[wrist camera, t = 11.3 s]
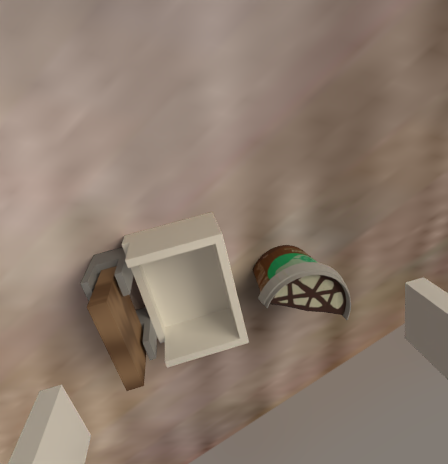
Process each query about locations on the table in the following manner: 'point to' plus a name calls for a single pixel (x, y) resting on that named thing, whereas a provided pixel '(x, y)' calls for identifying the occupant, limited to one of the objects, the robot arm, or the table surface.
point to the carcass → (178, 287)
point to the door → (119, 328)
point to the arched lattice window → (300, 282)
